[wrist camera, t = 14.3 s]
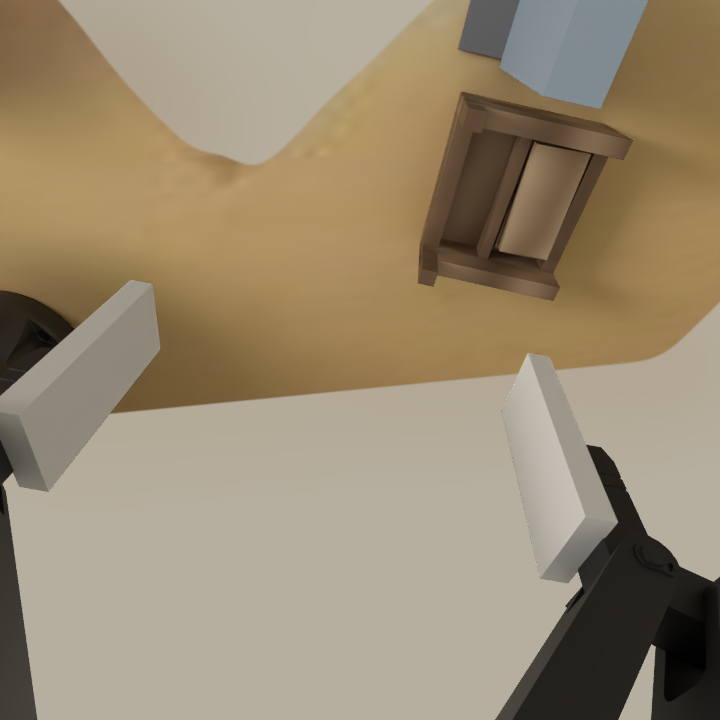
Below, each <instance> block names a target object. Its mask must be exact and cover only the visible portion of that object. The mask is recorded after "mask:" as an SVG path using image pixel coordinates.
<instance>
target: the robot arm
mask: <svg viewBox="0 0 720 720" xmlns="http://www.w3.org/2000/svg"><path fill="white" fill-rule="evenodd" d="M160 349H161V348H160V340H159V332H158V323H157V315H156V307H155V299H154V291H153V284H151V283H145V282H140V281H135V280H130V281H129V282H127V283H126V284H125V285H124V286H123V287H122V288H121V289H120V290H118V291H117V292H116V293H115V294H114V295H113V296H112V297H111V298H109V299H108V300H107V301H106V302H105V303H104V304H103V305H102V306H101V307H99V308H98V309H97V310H96V311H95V312H94V313H93V314H92V315H90V316H89V317H88V318H87V319H86V320H85V321H84V322H83V323H81V324H80V325H79V326H78V327H77V328H76V329H75V330H73V329H72V328H71V327H70V325H68V324H67V323H66V322H65V321H64V320H63V319H62V318H61V317H60V316H58V315H57V314H56V313H54V312H53V311H52V310H50V309H49V308H47V307H45V306H44V305H42V304H40V303H38V302H36V301H34V300H32V299H30V298H28V297H25V296H22V295H19V294H16V293H12V292H7V291H0V720H37V715H36V708H35V700H34V693H33V686H32V679H31V672H30V664H29V658H28V649H27V643H26V635H25V628H24V620H23V613H22V606H21V599H20V592H19V584H18V577H17V570H16V563H15V555H14V548H13V541H12V533H11V527H10V519H9V512H8V504H7V497H6V491H5V489H4V487H3V485H2V484H3V482H4V481H5V480H6V479H7V478H8V477H9V476H10V475H11V474H12V472H13V474H14V475H15V478H16V480H17V483H18V485H19V487H24V488H30V489H36V490H41V491H47V492H49V490H50V489H51V488H52V487H53V485H54V484H55V483H56V482H57V480H58V479H59V478H60V476H61V475H62V474H63V473H64V471H65V470H66V469H67V467H68V466H69V465H70V464H71V462H72V461H73V460H74V459H75V457H76V456H77V455H78V453H79V452H80V451H81V450H82V448H83V447H84V446H85V444H86V443H87V442H88V441H89V440H90V438H91V437H92V436H93V434H94V433H95V432H96V430H97V429H98V428H99V427H100V426H101V424H102V423H103V422H104V420H105V419H106V418H107V417H108V415H109V414H110V413H111V412H112V410H113V409H114V408H115V406H116V405H117V404H118V403H119V401H120V400H121V399H122V398H123V396H124V395H125V394H126V392H127V391H128V390H129V389H130V387H131V386H132V385H133V384H134V382H135V381H136V380H137V378H138V377H139V376H140V375H141V373H142V372H143V371H144V370H145V368H146V367H147V366H148V364H149V363H150V362H151V361H152V359H153V358H154V357H155V356H156V354H157V353H158V352H159V350H160ZM502 415H503V420H504V424H505V429H506V433H507V437H508V442H509V446H510V450H511V454H512V459H513V463H514V468H515V472H516V477H517V481H518V485H519V489H520V494H521V498H522V503H523V507H524V511H525V516H526V520H527V524H528V528H529V533H530V537H531V542H532V546H533V550H534V555H535V559H536V563H537V568H538V572H539V577H540V578H541V579H546V580H552V581H557V582H563V583H569V582H570V580H571V579H572V578H573V577H574V576H575V574H576V573H577V572H579V576H580V579H581V583H582V587H581V588H580V590H579V591H578V592H577V593H576V594H575V595H574V597H573V598H572V599H571V600H570V601H569V602H568V604H567V605H566V607H567V609H566V611H565V612H564V614H563V615H562V617H561V619H560V620H559V621H558V623H557V625H556V626H555V628H554V629H553V631H552V633H551V634H550V635H549V637H548V639H547V640H546V642H545V643H544V645H543V646H542V648H541V649H540V651H539V653H538V654H537V656H536V657H535V659H534V661H533V662H532V664H531V665H530V667H529V668H528V670H527V671H526V673H525V674H524V676H523V678H522V679H521V681H520V682H519V684H518V685H517V687H516V688H515V690H514V692H513V693H512V695H511V696H510V698H509V699H508V701H507V702H506V704H505V706H504V707H503V709H502V710H501V712H500V713H499V715H498V716H497V718H496V719H495V720H618V719H619V717H620V714H621V712H622V710H623V708H624V705H625V703H626V700H627V698H628V696H629V694H630V692H631V689H632V687H633V685H634V682H635V680H636V678H637V676H638V673H639V671H640V669H641V667H642V664H643V662H644V660H645V657H646V655H647V653H648V650H649V648H650V646H651V644H652V645H654V646H656V651H655V667H654V683H653V698H652V714H651V720H720V577H719V578H718V579H717V580H715V581H714V582H712V581H710V580H708V579H706V578H704V577H701V576H699V575H697V574H695V573H693V572H690V571H688V570H686V569H684V568H682V567H680V566H679V565H678V562H677V560H676V559H675V557H674V556H673V555H672V553H671V552H670V551H669V550H668V549H667V548H666V547H665V546H663V545H662V544H661V543H660V542H659V541H657V540H655V539H653V538H651V537H650V536H648V535H647V532H646V530H645V528H644V526H643V524H642V522H641V520H640V517H639V515H638V513H637V511H636V509H635V506H634V504H633V502H632V500H631V498H630V495H629V493H628V492H626V487H625V485H624V483H623V480H621V479H620V478H621V476H620V474H619V472H618V470H617V467H616V465H615V463H614V461H613V460H612V459H611V458H610V457H609V456H608V455H607V453H606V452H605V451H604V450H603V449H602V448H601V447H596V446H590V445H586V444H585V441H584V439H583V436H582V434H581V432H580V429H579V427H578V424H577V422H576V419H575V417H574V415H573V412H572V410H571V408H570V405H569V403H568V400H567V398H566V395H565V393H564V390H563V388H562V386H561V383H560V381H559V379H558V376H557V374H556V371H555V369H554V366H553V364H552V361H551V359H550V357H547V356H542V355H536V354H531V353H528V354H527V356H526V358H525V361H524V363H523V365H522V367H521V369H520V372H519V374H518V376H517V378H516V380H515V382H514V385H513V387H512V389H511V391H510V393H509V396H508V398H507V400H506V402H505V404H504V406H503V409H502Z"/></svg>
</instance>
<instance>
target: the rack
mask: <svg viewBox="0 0 720 720" xmlns="http://www.w3.org/2000/svg"><path fill="white" fill-rule="evenodd" d="M533 140H537V141H542V142H546V143H550V144H555V145H559V146H564V147H568V148H573V149H577V150H581V151H586V152H589V153H590V154H591V156H590V158H589V161H588V163H587V165H586V168H585V170H584V173H583V175H582V177H581V180H580V182H579V184H578V187H577V189H576V192H575V194H574V196H573V199H572V201H571V204H570V206H569V208H568V211H567V213H566V216H565V218H564V220H563V223H562V225H561V227H560V230H559V232H558V235H557V237H556V239H555V242H554V244H553V247H552V249H551V251H550V254H549V256H548V258H547V260H544V259H538V258H533V257H528V256H522V255H517V254H512V253H507V252H501V251H500V250H499V248H495V247H494V241H495V239H496V236H497V233H498V231H499V228H500V225H501V223H502V220H503V217H504V215H505V212H506V209H507V207H508V204H509V201H510V199H511V196H512V193H513V191H514V188H515V185H516V183H517V180H518V177H519V175H520V172H521V169H522V167H523V164H524V161H525V159H526V156H527V153H528V151H529V148H530V145H531V143H532V141H533ZM632 141H633V140H631V139H629V138H628V137H626V136H624V135H623V134H621V133H619V132H617V131H616V130H614V129H612V128H610V127H609V126H607V125H605V124H602V123H597V122H593V121H588V120H584V119H580V118H575V117H571V116H566V115H562V114H558V113H553V112H549V111H544V110H540V109H536V108H531V107H527V106H522V105H518V104H513V103H509V102H505V101H500V100H496V99H491V98H487V97H483V96H478V95H474V94H469V93H465V92H461V94H460V98H459V101H458V105H457V109H456V112H455V116H454V120H453V123H452V127H451V131H450V134H449V138H448V142H447V145H446V149H445V153H444V156H443V160H442V164H441V167H440V171H439V175H438V178H437V182H436V186H435V189H434V193H433V197H432V200H431V204H430V207H429V211H428V215H427V218H426V222H425V226H424V229H423V233H422V237H421V240H420V252H419V273H418V283H419V284H423V285H428V286H432V287H434V283H435V280H436V277H437V275H439V276H444V277H448V278H453V279H457V280H462V281H466V282H471V283H475V284H480V285H484V286H489V287H493V288H498V289H502V290H507V291H511V292H516V293H520V294H525V295H529V296H533V297H538V298H542V299H547V300H551V301H553V300H554V298H555V296H556V294H557V292H558V290H559V288H560V287H559V285H558V283H557V281H556V279H555V277H554V275H553V272H554V270H555V267H556V265H557V263H558V261H559V259H560V257H561V255H562V253H563V251H564V249H565V246H566V244H567V242H568V240H569V238H570V236H571V234H572V232H573V230H574V228H575V226H576V223H577V221H578V219H579V217H580V215H581V213H582V211H583V209H584V207H585V205H586V202H587V200H588V198H589V196H590V194H591V192H592V190H593V188H594V186H595V184H596V181H597V179H598V177H599V175H600V173H601V171H602V169H603V167H604V165H605V163H606V161H607V158H608V157H612V158H617V159H621V160H624V158H625V156H626V154H627V151H628V149H629V147H630V145H631V143H632Z"/></svg>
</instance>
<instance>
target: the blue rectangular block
mask: <svg viewBox="0 0 720 720" xmlns="http://www.w3.org/2000/svg"><path fill="white" fill-rule="evenodd" d="M647 3H648V0H520V1H519V4H518V8H517V11H516V14H515V17H514V21H513V24H512V27H511V30H510V33H509V37H508V40H507V43H506V46H505V50H504V53H503V56H502V59H501V63H500V66H499V68H500V69H502V70H503V71H505V72H506V73H508V74H509V75H511V76H512V77H514V78H516V79H517V80H519V81H520V82H522V83H523V84H525V85H526V86H528V87H529V88H531V89H532V90H534V91H535V92H537V93H539V94H540V95H542V96H544V97H549V98H553V99H558V100H562V101H566V102H571V103H575V104H580V105H584V106H588V107H593V108H597V109H601V107H602V105H603V102H604V100H605V98H606V96H607V93H608V91H609V89H610V87H611V84H612V82H613V80H614V77H615V75H616V73H617V71H618V68H619V66H620V64H621V62H622V59H623V57H624V55H625V53H626V50H627V48H628V46H629V43H630V41H631V39H632V37H633V34H634V32H635V30H636V28H637V25H638V23H639V21H640V19H641V16H642V14H643V12H644V9H645V7H646V5H647Z"/></svg>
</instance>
